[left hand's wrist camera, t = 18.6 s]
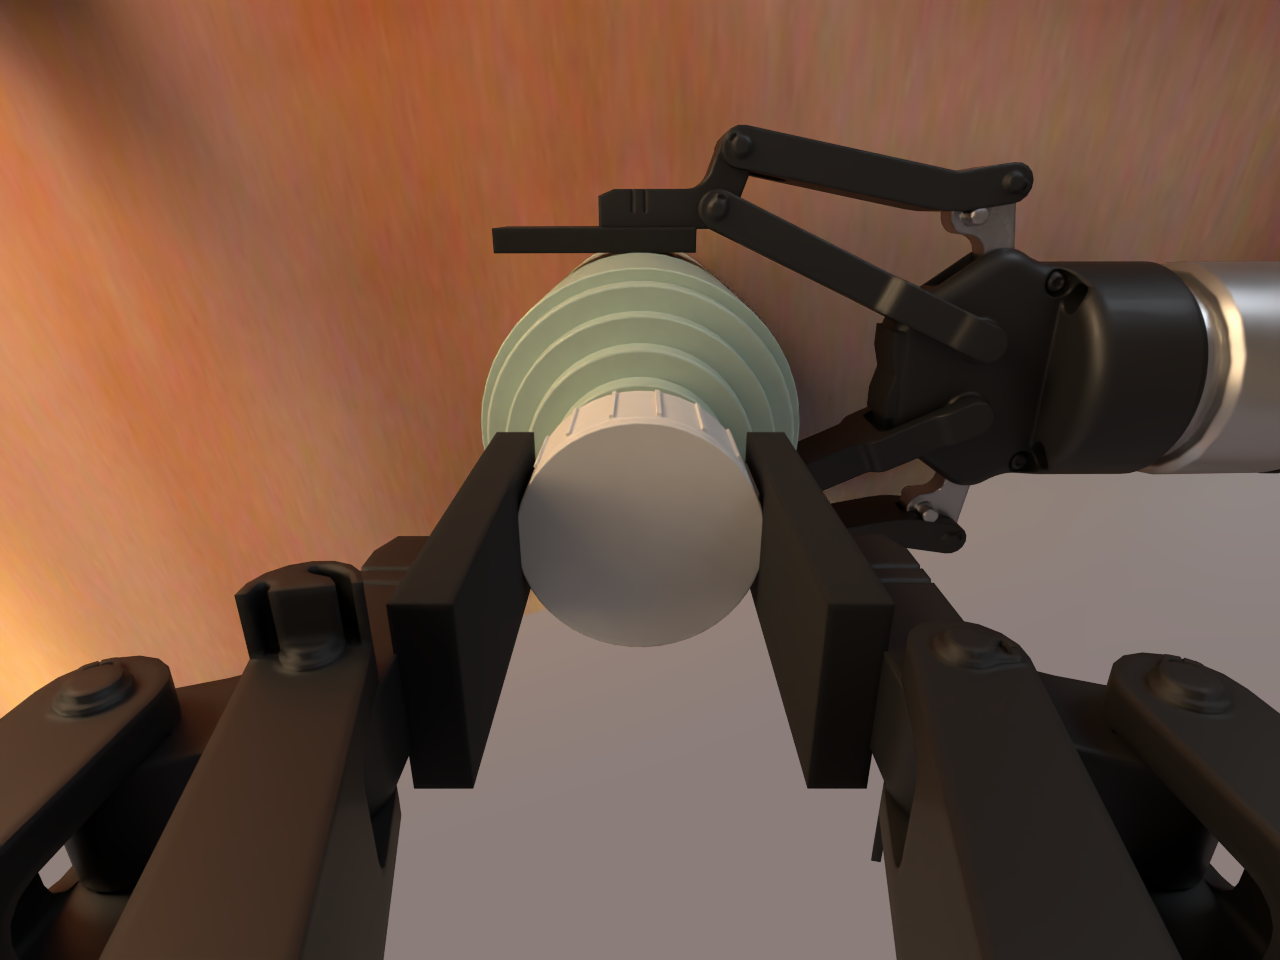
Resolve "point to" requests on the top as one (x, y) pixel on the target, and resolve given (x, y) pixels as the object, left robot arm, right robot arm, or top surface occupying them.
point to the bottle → (640, 350)
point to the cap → (640, 521)
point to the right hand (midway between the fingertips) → (510, 372)
